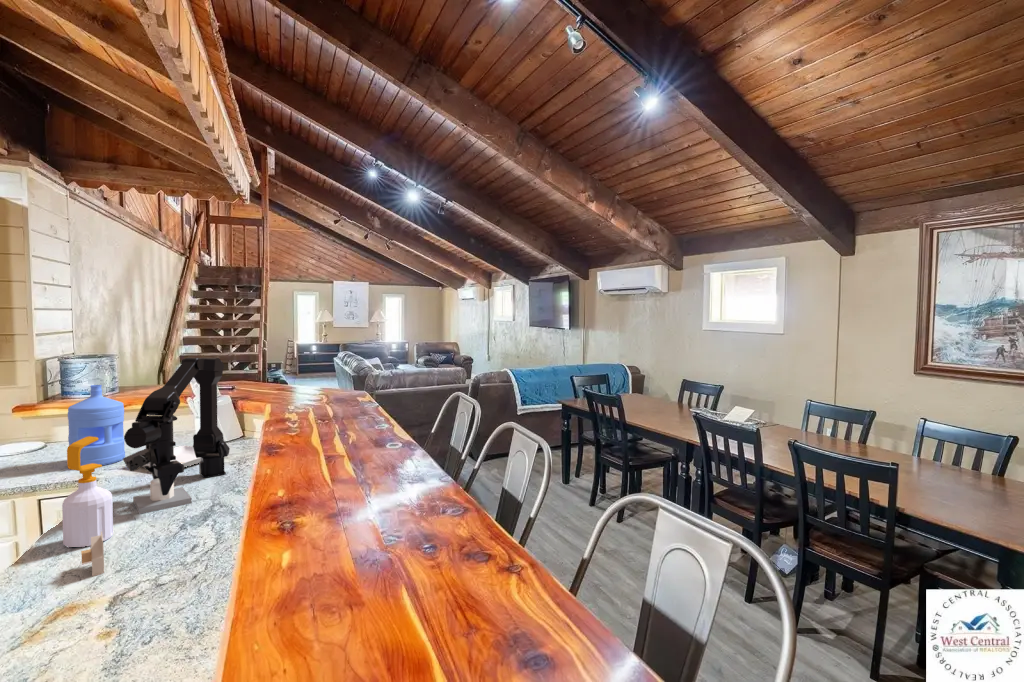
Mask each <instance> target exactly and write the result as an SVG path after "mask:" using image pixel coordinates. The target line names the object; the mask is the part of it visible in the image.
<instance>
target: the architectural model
mask: <svg viewBox="0 0 1024 682" xmlns="http://www.w3.org/2000/svg"><path fill="white" fill-rule="evenodd" d="M89 547H90V548H89V549H85V550H81V553H80V554H81V565H87V564H91V566H92V567H91V575H92V577H95V576H99V575H103V574H104V573H105V559H104V558H105V557H104V556H105V553H104V552H105V551H104V547H105V546H104V542H103V535H102V532H101V535H99V536H95V537H91V545H90V546H89Z"/></svg>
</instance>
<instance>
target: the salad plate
mask: <svg viewBox="0 0 1024 682" xmlns="http://www.w3.org/2000/svg"><path fill="white" fill-rule="evenodd" d="M173 448H174V455H175V456H176V460H177V461H178V462H185V463H182V464H183V465H184V467H186V466H189V467H191V466H190V465H193V466H195V465H194V464H196V465H199V464H198V463H199V462H200V461H201V458H196V456H195V452H194V448H193V445H192V446H191V445H184V444H183V445H180V446H176V447H175V446H174V447H173ZM176 460H171V461H176ZM145 466H147V464H146V465H144V466H141V467H143V468H144V467H145ZM141 467H140V468H141ZM186 468H187V467H186Z"/></svg>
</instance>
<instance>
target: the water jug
mask: <svg viewBox="0 0 1024 682" xmlns="http://www.w3.org/2000/svg"><path fill="white" fill-rule="evenodd" d="M89 387H90V390H89V391H90V395H89V397H87V398H85V399H84V400H81V401H79V402H76V403H75V404H72V405H70V406H69V407H68V408H67V421H68V422H67V423H68V436H67V437H68V439H67V440H68V441H67V442H68V446H69V445H71V444H72V443H74V442H76V441H79V440H81V439H83V438H85V437H88V436H91V437H98V440H97V441H95V442H93V443H91V444H89V445H87V446H85V447H83V448H82V449H81V452H80V464H81V466H82V465H86V464H91V463H95V464H101V465H102V467H103V466H108V465H111V464H115V463H118V462H120V461H123V459H124V458H125V457H126V450H125V440H124V435H125V433H124V422H125V418H124V417H125V407H124V405H125V404H124V402H123V401H120V400H119V401H118V400H116V399H113V398H109V397H106V396H103V389H102V384H93V385H92V384H91V385H90V386H89Z"/></svg>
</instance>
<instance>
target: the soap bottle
mask: <svg viewBox="0 0 1024 682" xmlns="http://www.w3.org/2000/svg"><path fill="white" fill-rule="evenodd" d="M97 440H98V437H91V436H88V437H85V438H83V439H81V440H79V441H76V442H74V443H72V444H71V445H69V444H68V446H67V449H66V461H67V464H66V465H67V468H68V469H69V470H72V471H79V474H80V475H82V477H81V478H78V480H77V482H78V483H77V485H78V486H77V487H78V488H77V490H75V491H74V492H72V493H70V494H69V495H68V496H67V497H65V499H63V502H62V505H61V506H62V508H61V510H62V515H61V516H62V542H63V543H62V545H63V546H64V545H65V546H68V547H67V548H69V547H82V548H86V547H85V546H87V547H90V545H91V537H95V536H99V535H101V532H102V535H103V541H104V542H105V541H107V540H109V539H111V538H112V536H113V535H114V517H113V516H114V512H113V511H114V509H113V508H114V507H113V505H114V504H113V494H112V492H111V491H110V490H108V489H106V488H104V487H100V486H98V485H97V484H98V483H97V477H96V476H93V473H94V472H95V471H96V469H98V468H102V467H103V466H102V465H101V464H95V463H91V464H86V465H82V466H81V464H80V452H81V449H82V448H83V447H85V446H87V445H89V444H91V443H93V442H95V441H97ZM65 546H64V547H65Z"/></svg>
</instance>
